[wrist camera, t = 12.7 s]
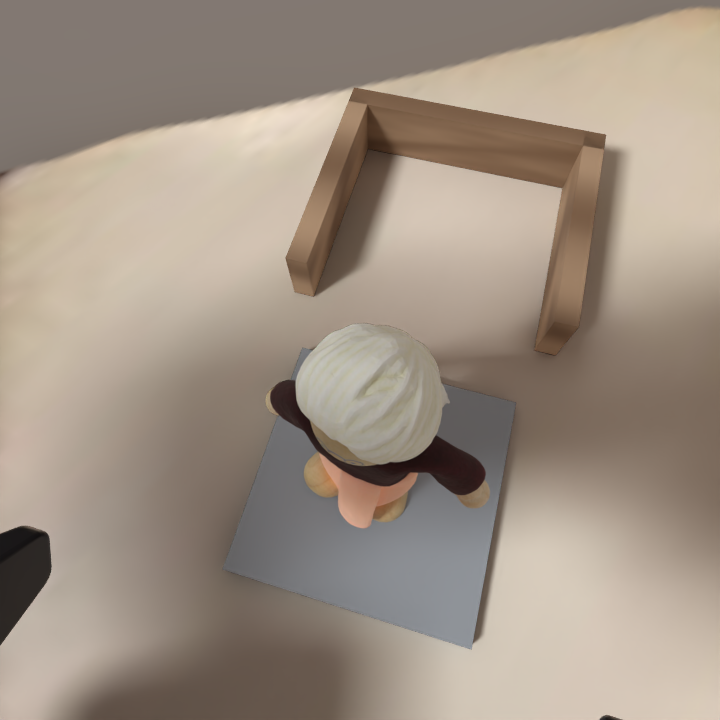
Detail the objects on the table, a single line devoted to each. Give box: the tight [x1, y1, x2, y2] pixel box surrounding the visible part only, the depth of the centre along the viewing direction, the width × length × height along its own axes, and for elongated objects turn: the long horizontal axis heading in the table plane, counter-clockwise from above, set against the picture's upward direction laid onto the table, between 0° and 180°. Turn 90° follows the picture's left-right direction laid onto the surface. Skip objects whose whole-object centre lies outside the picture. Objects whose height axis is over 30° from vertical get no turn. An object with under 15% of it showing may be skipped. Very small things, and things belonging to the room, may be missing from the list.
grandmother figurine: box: [266, 323, 490, 528], centre depth 16 cm, size 8×4×13 cm, turn 75°
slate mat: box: [223, 348, 516, 649], centre depth 22 cm, size 10×10×1 cm
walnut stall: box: [286, 88, 606, 355], centre depth 26 cm, size 11×13×3 cm
